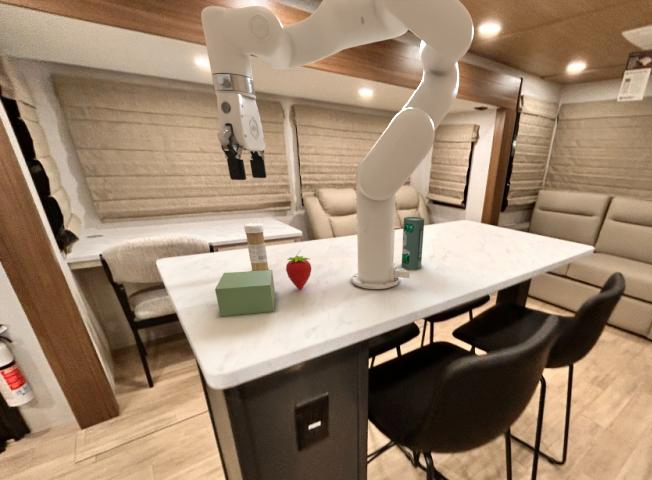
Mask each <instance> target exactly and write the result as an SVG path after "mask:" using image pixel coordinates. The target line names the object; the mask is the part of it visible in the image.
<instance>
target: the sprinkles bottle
mask: <svg viewBox="0 0 652 480" xmlns="http://www.w3.org/2000/svg"><path fill="white" fill-rule="evenodd" d="M243 228H244V232H245V236H246V242H247V249H248V257H249V261H250V267H251V271H264V270H270V269H269V263H268V254H267V248H266V242H265V235H264V232H265V231H264V225H263V224H262V223H255V222H254V223H246V224H244V226H243Z"/></svg>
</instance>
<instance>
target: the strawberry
mask: <svg viewBox="0 0 652 480" xmlns="http://www.w3.org/2000/svg"><path fill="white" fill-rule="evenodd" d="M301 251H302V250H299V252H298V253H297V254H296V255H295V256H294V257H289V258H287V259H286V260H288V262H287V264H286V266H285V272H286V274H287V276H288V278H289V280H290V281H291V283H292V284H293V285H294V286H295V287H296V288H297V289H298V290H302V289H303V288H304V286H305V285H306V284H307V282H308V281H309V279H310V277H311V273H312V266H311V262H309V260H310V258H309V257H304V255H300V256H299V253H300V252H301Z"/></svg>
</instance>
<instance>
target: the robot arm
mask: <svg viewBox="0 0 652 480" xmlns="http://www.w3.org/2000/svg"><path fill="white" fill-rule="evenodd" d="M200 13H201V14H200V19H201V24H202V25H201V26H202V30H203V35H204V41H205V46H206V51H207V56H208V62H209V67H210V72H211V78H212V83H213V88H214V94H215V97H216V105H217V115H218V123H219V129H220V131H218V133H216V134H217V135H216V136H217V139H218V141H219V143H220V147H221V150H222V151H223V153H224V157H225V159H226V163H227V168H228V174H229V178H230V180H232V181H246V180H247V173H246V169H245V162H244V159H243V158H242V154H243V151H247V153H248V155H249V157H250V158H251V159H249V163H250V169H251V170H250V171H251V176H252V178H253V179H266V178H267V171H266V163H265V154H264V153H265V149H266V142H265V135H264V130H263V124H262V120H261V116H260V111H259V108H258V105H257V101H256V100H257V96H256V88H255V81H254V75H253V68H252V61H251V55H253V56H255V57H257V58H259V60H260V61H261V62H262V63H263V64H264V65H265V66H267V67H268V68H270V69H273V70H278V71H284V70H290V69H294V68H299V67H303V66H309V65H311V64H314V63H317V62H320V61H322V60H324V59H326V58H329V57H330V56H335V55H336V54H337V53H339V52H342V51H343V50H347V49H351V48H355V47H360V46H363V45H368V44H373V43H377V42H382V41H387V40H390V39H395V38H397V37H400V36H403V35H404V34H405V33H407V32H408V31H410V32H411V33H412V34H413V35H414V36H416V37H417V38H418V39H419V40H421V42H420V46H419V47H420V49H419V54H420V60H421V65H422V70H423V72H422V79H421V82H420V83H419V85H418V86H417V87H416V89H415V90H414V92H413V93H412V95H411V96H410V97H409V99H408V101H406V103H405V105H403V107H402V109H401V110H400V111H399V112H397V113H396V114H395V115H394V116H393V118H392V119H391V121H390V122H389V124H388V126H387V127H386V129H384V131H383V133H382V134H381V135H380V136H379V138H378V139H377V141H376V142H375V144H374V145H373V146H372V148H371V149H370V150H369V151H368V153H367V154H366V156H363V158H362V159H361V160H360V161H359V163H358V165H357V167H356V172H355V185H356V186H355V187H356V219H357V220H356V233H357V235H356V236H357V237H356V239H357V240H356V241H357V243H356V244H357V245H356V246H357V272H356V273H354V274H353V275H352V277H351V278H352V279H351V282H352V283H353V285H355V286H357V287H359V288H362V289H366V290H367V289H368V290H384V289H385V290H386V289H389V288H393V287H395V286H396V285H398V284H399V279H400V278H403V279H410V276H411V271H410V270H406V269H405V268H398V267H396V263H395V262H394V259H395V257H394V253H395V231H396V230H395V225H396V194H397V193H398V192H399V190H400V189H401V188H402V187H403V186H404V184H405V183H406V182H407V181H408V180H409V178H410V177H411V176H412V175H413V174H414V172H415V171H416V170H417V169H418V167H419V166H420V164H421V163H422V162H423V160H424V159H425V158H426V157H427V155H428V154H429V152H430V150H431V149H432V147H433V144H434V142H435V136H436V130H437V128H438V127H439V126H440V125H441V124H442V121H443V120H444V119H445V117H446V116H447V115H448V113H449V112H450V111H451V109H452V107H453V105H454V103H455V101H456V99H457V96H458V91H459V86H460V71H459V64H458V62H459V61H460V60H461V59H462V58H463V57H465V55H466V54H467V52H468V51H469V49H470V48H471V45H472V43H473V39H474V23H473V19H472V16H471V14H470V12H469V10H468V9H467V8H466V6H465V5H464V4H463V3H462V2H461V1H460V0H321V2H320V4H319V5H318V7H317V8H316V10H315V11H314V12H313V13H312V14H310V15H309V16H307V17H305V18H304V19H302V20H299V21H296V22H292V23H289V24H283V23H281V21H280V19H279V17H278V16H277V15H276V14H275V13H274V12H273V11H272V10H271V9H269V8H267V7H264V6H260V5H251V6H244V7H238V8H228V7H224V6H220V5H219V6H218V5H209V6H206V7H204V8H203V9H202V10H201V12H200ZM241 158H242V159H241Z"/></svg>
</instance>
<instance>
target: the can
mask: <svg viewBox="0 0 652 480" xmlns="http://www.w3.org/2000/svg"><path fill="white" fill-rule="evenodd" d="M402 226H403V227H402V228H403V229H402V247H401V248H402V250H401V267H402V269H405V270H412V271H415V270H420V269H421V268H422V261H423V260H422V259H423V244H424V231H425V218H424V217H418V216H406V217H403V224H402Z"/></svg>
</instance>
